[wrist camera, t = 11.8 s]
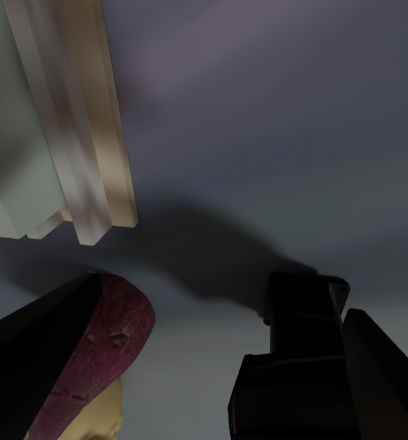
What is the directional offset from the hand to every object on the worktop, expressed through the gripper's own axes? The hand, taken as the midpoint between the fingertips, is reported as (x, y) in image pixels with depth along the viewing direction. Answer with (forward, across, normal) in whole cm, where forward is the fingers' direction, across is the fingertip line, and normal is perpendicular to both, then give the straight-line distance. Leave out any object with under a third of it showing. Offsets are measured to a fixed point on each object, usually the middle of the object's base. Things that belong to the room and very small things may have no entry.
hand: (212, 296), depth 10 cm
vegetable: (+12, +14, +17) cm, 25 cm away
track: (+12, +14, -4) cm, 19 cm away
